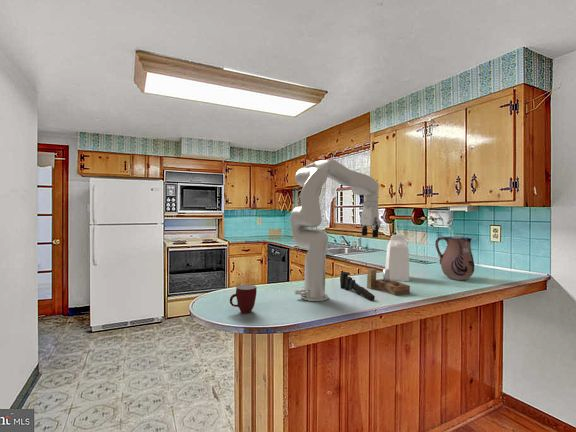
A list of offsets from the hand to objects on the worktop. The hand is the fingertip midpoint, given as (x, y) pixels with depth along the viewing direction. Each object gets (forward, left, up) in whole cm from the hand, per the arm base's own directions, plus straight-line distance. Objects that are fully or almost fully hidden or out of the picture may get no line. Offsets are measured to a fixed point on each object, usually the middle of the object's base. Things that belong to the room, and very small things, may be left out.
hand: (369, 236), depth 173 cm
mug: (-75, -20, -27) cm, 82 cm away
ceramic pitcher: (+59, -5, -27) cm, 65 cm away
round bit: (+4, -10, -26) cm, 28 cm away
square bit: (-3, -7, -26) cm, 27 cm away
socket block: (+4, -14, -26) cm, 30 cm away
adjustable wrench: (-17, -13, -27) cm, 34 cm away
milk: (+26, +7, -27) cm, 38 cm away
